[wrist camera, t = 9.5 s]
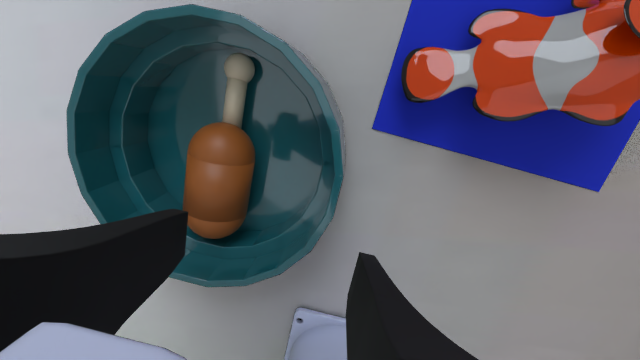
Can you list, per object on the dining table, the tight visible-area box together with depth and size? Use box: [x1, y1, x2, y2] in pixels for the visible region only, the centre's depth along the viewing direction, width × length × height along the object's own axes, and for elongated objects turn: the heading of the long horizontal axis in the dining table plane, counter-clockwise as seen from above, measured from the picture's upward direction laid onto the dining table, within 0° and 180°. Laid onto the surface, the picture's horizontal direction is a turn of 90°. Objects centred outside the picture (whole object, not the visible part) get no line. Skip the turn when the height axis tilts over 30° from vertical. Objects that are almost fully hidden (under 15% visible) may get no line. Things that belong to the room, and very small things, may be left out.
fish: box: [400, 0, 640, 127], centre depth 15 cm, size 13×5×8 cm
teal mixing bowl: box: [67, 4, 346, 287], centre depth 19 cm, size 15×15×6 cm
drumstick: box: [183, 53, 255, 239], centre depth 19 cm, size 12×4×4 cm, turn 168°
